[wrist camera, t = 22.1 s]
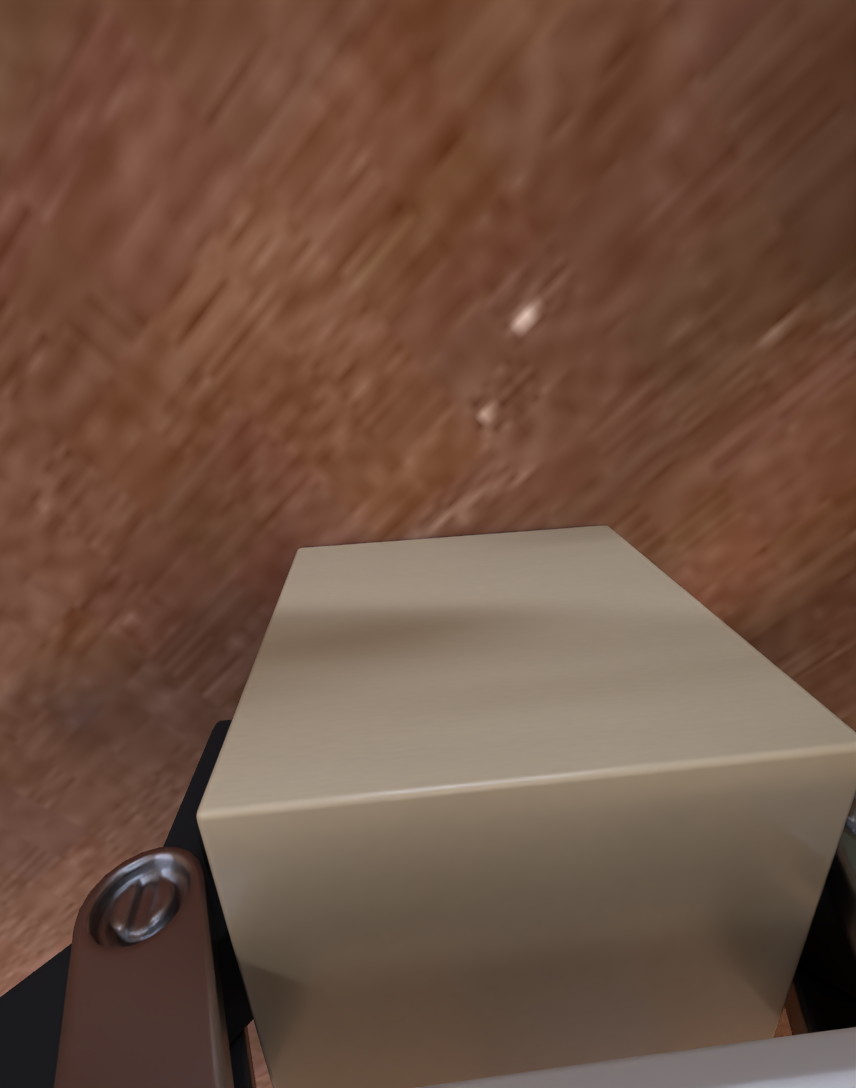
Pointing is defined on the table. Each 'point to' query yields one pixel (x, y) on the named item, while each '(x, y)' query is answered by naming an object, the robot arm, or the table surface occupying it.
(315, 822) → the block
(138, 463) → the table surface
